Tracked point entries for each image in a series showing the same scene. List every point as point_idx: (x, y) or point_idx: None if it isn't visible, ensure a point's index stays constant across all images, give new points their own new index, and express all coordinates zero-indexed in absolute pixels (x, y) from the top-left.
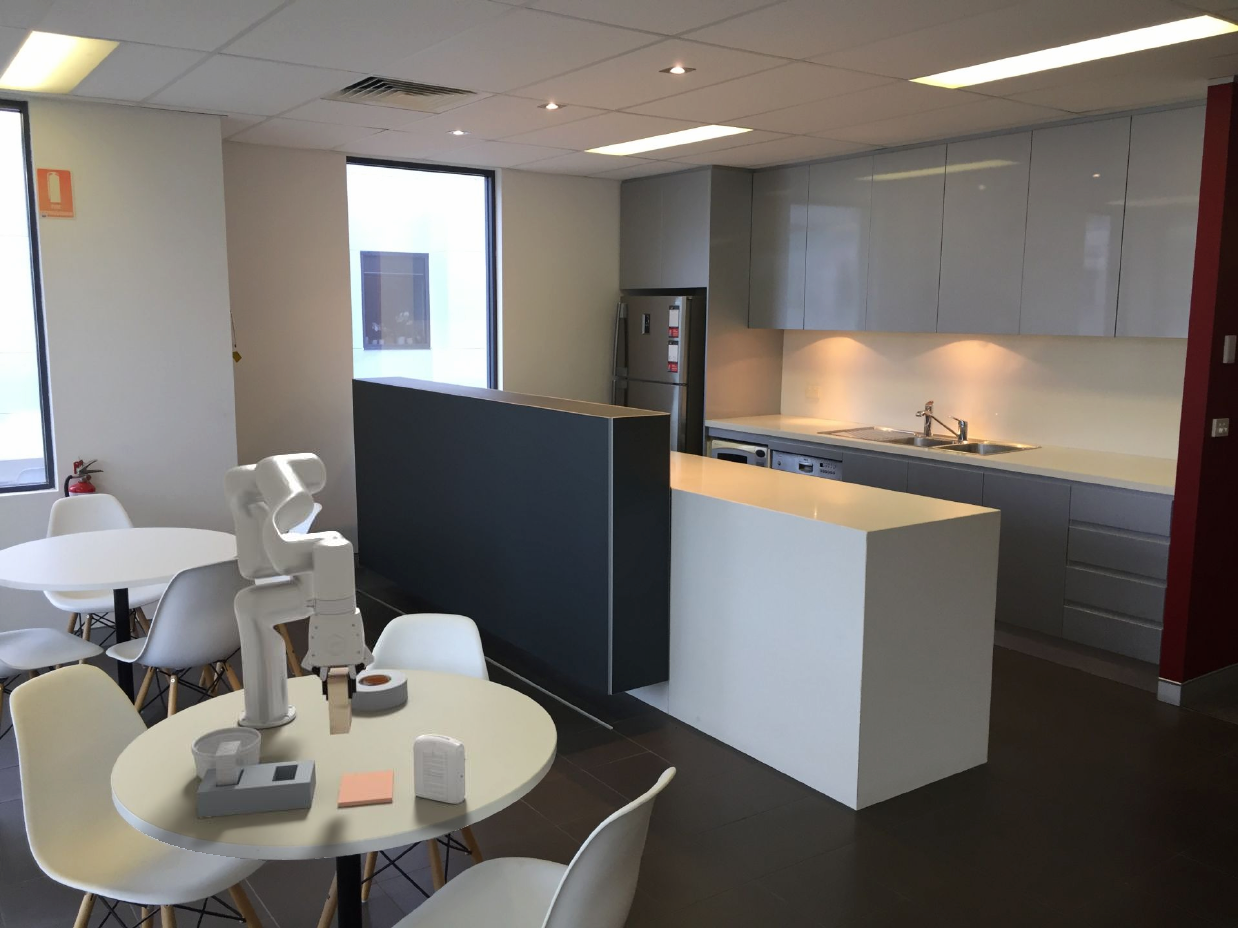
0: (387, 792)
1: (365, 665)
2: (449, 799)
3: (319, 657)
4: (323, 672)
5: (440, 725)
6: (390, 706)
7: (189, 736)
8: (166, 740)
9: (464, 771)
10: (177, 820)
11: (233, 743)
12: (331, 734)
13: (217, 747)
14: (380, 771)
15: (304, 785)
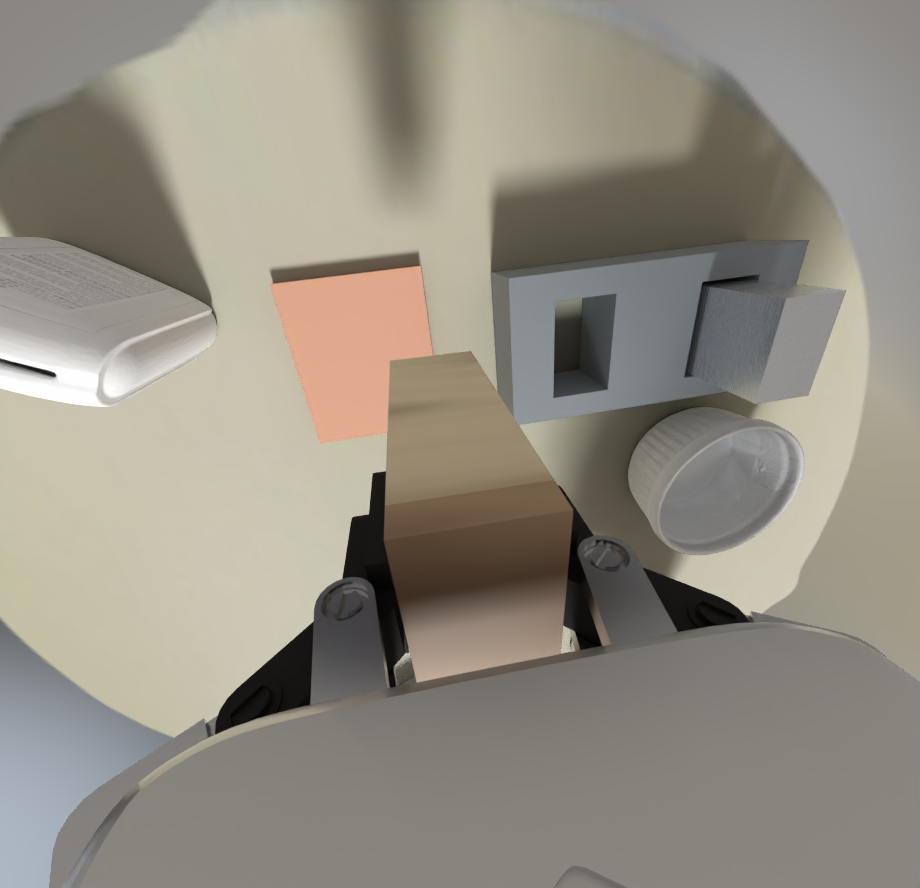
0: (295, 318)
1: (213, 732)
2: (63, 244)
3: (871, 778)
4: (624, 595)
5: (285, 633)
6: (408, 682)
7: (736, 577)
8: (771, 563)
9: None
10: (790, 233)
11: (776, 385)
12: (465, 352)
13: (718, 510)
14: (351, 436)
15: (521, 275)
